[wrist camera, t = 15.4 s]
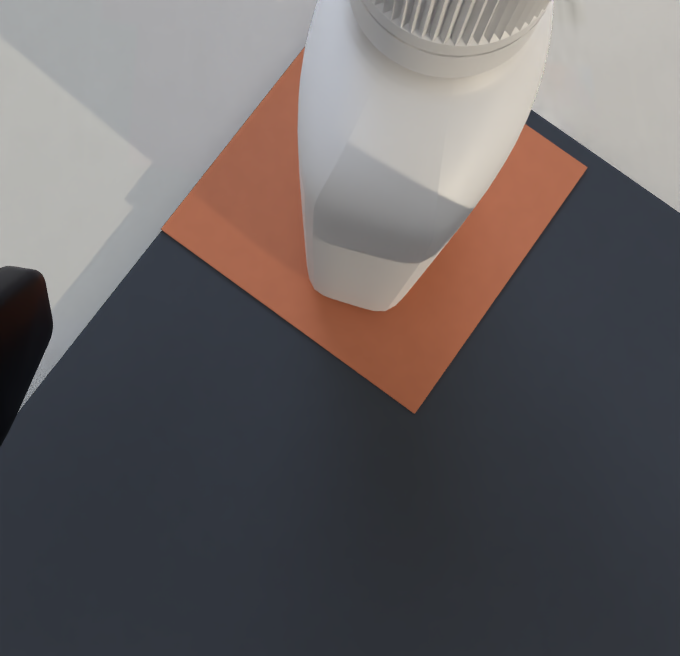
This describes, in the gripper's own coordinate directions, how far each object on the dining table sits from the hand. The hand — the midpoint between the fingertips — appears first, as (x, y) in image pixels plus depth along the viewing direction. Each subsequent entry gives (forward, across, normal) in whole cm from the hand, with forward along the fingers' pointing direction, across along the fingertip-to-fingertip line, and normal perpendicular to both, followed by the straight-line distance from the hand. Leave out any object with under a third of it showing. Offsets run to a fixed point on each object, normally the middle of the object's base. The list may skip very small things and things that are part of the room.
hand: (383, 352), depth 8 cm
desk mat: (+3, -2, +9) cm, 9 cm away
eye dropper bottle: (+9, 0, +2) cm, 9 cm away
